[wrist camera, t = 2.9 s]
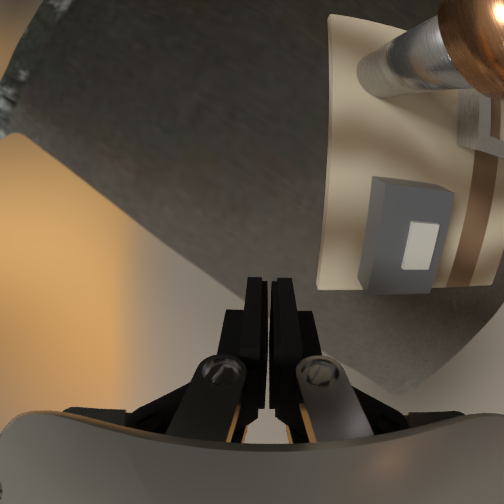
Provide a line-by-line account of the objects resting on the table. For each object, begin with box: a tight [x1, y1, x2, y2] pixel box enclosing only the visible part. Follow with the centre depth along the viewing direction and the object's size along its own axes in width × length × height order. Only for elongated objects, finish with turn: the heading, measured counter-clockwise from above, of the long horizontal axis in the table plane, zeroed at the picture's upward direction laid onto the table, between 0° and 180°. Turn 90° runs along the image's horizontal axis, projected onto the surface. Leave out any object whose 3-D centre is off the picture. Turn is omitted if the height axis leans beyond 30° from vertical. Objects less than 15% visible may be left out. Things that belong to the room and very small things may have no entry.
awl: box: [356, 0, 504, 100], centre depth 8 cm, size 4×4×13 cm
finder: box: [357, 176, 455, 295], centre depth 16 cm, size 7×5×3 cm
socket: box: [456, 88, 504, 160], centre depth 12 cm, size 7×7×2 cm
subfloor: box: [316, 14, 504, 290], centre depth 16 cm, size 19×18×1 cm
